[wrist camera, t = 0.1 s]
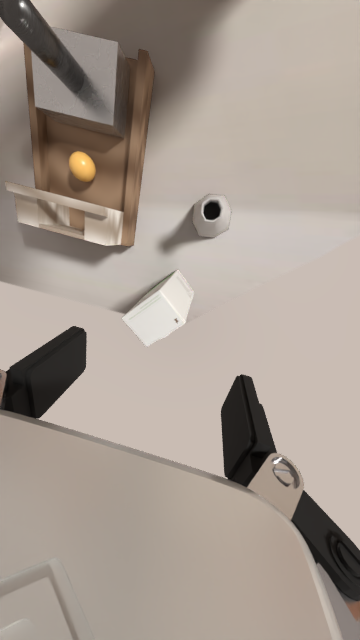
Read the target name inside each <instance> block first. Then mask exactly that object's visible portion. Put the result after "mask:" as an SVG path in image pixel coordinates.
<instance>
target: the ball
mask: <svg viewBox="0 0 360 640" xmlns="http://www.w3.org/2000/svg"><path fill="white" fill-rule="evenodd" d="M69 167H70V170H71V172H72V173H73V175H74V176H75V177H76V178H77V179H79V180H80V181H83V182H89V181H91V180H93V179H94V177H95V174H96V168H95V165H94V162H93V160H92V159H91V158H90V157H89V156H88V155H87V154H86V153H84V152H80V151H77V152H74V153H72V154H71V156H70V158H69Z"/></svg>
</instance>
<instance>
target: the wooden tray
mask: <svg viewBox="0 0 360 640" xmlns="http://www.w3.org/2000/svg"><path fill="white" fill-rule="evenodd" d="M24 55H25V67H26V79H27V91H28V103H29V115H30V127H31V139H32V152H33V164H34V176H35V188H36V189H34V188H31V187H27V186H23V185H19V184H15V183H12V182H8V181H5V182H6V190H8V191H11V192H14V195H15V204H16V212H17V220H18V222H20V223H24V224H27V225H31V226H35V227H38V228H42V229H46V230H49V231H53V232H57V233H61V234H64V235H68V236H72V237H75V238H79V239H83V240H86V241H90V242H94V243H97V244H101V245H105V246H111V245H124V246H132V245H134V238H135V230H136V221H137V213H138V205H139V197H140V188H141V180H142V172H143V163H144V155H145V147H146V138H147V130H148V122H149V113H150V105H151V97H152V88H153V80H154V69H153V66H152V63H151V60H150V57H149V54H148V51H145V50H141V49H139V53H138V60H135V59H131V58H126V57H125V58H126V60H127V62H128V64H129V66H130V78H129V90H128V102H127V115H126V127H125V139H124V138H120V137H116V136H112V135H108V134H104V133H100V132H96V131H92V130H88V129H84V128H80V127H76V126H72V125H68V124H63V123H59V122H56V121H54V120H53V119H51V118H50V117H49V116H47V115H46V114H45V113H43V112H42V111H41V110H39V109H38V108H36V107H35V97H34V83H33V70H32V56H31V50H30V49H29V47H28V46H27V45H26V44H25V43H24ZM77 151H80V152H84V153H86V154H87V155H88V156H89V157H90V158H91V159H92V160H93V162H94V165H95V168H96V174H95V177H94V179H93V180H91V181H89V182H83V181H80V180H79V179H77V178H76V177H75V176H74V175H73V173H72V172H71V170H70V167H69V158H70V156H71V154H72V153H74V152H77Z"/></svg>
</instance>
